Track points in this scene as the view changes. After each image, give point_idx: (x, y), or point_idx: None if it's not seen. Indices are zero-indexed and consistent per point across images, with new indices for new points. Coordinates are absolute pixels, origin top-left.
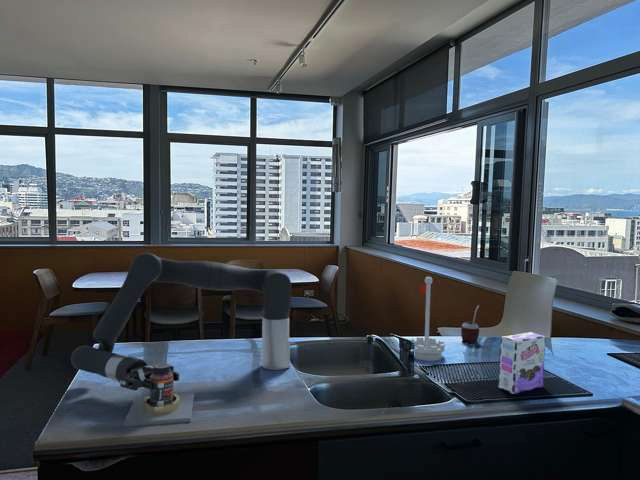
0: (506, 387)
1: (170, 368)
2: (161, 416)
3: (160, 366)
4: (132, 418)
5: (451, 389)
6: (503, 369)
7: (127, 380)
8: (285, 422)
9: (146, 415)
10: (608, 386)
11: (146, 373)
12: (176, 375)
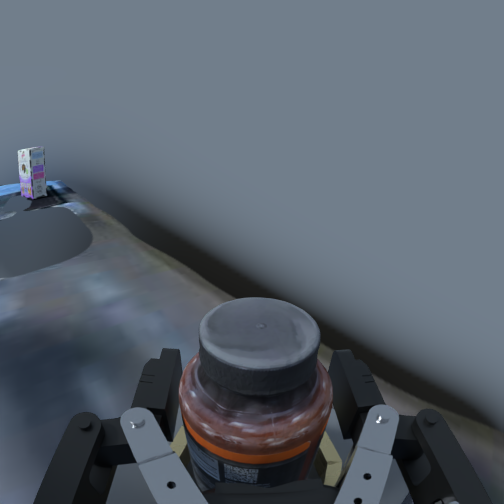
0: (40, 193)
1: (102, 427)
2: None
3: (283, 319)
4: (393, 472)
5: (33, 209)
6: (35, 178)
7: (464, 461)
8: (158, 261)
9: (342, 461)
10: None
11: (303, 494)
12: (179, 358)
